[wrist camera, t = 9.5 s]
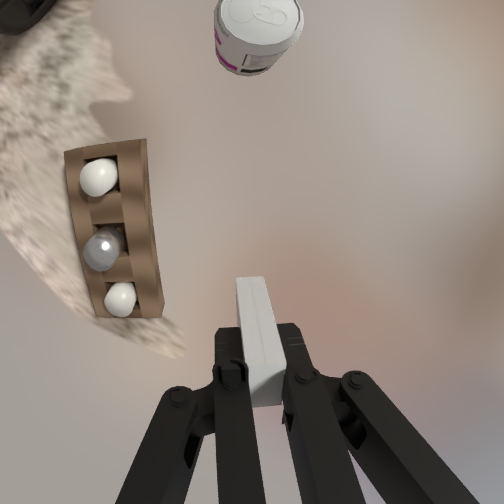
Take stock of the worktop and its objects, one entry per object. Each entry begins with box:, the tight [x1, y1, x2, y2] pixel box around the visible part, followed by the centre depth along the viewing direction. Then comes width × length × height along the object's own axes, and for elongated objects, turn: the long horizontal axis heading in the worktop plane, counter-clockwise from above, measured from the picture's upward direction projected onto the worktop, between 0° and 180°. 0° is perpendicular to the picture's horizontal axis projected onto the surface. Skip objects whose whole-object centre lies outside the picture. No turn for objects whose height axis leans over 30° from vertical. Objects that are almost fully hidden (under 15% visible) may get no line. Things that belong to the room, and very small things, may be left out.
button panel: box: [64, 139, 165, 318], centre depth 39 cm, size 26×11×4 cm, turn 0°
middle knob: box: [83, 226, 125, 271], centre depth 35 cm, size 4×4×4 cm
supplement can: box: [214, 0, 304, 76], centre depth 26 cm, size 8×8×15 cm
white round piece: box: [80, 157, 119, 197], centre depth 34 cm, size 4×4×4 cm
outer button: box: [104, 282, 138, 317], centre depth 41 cm, size 4×4×4 cm
